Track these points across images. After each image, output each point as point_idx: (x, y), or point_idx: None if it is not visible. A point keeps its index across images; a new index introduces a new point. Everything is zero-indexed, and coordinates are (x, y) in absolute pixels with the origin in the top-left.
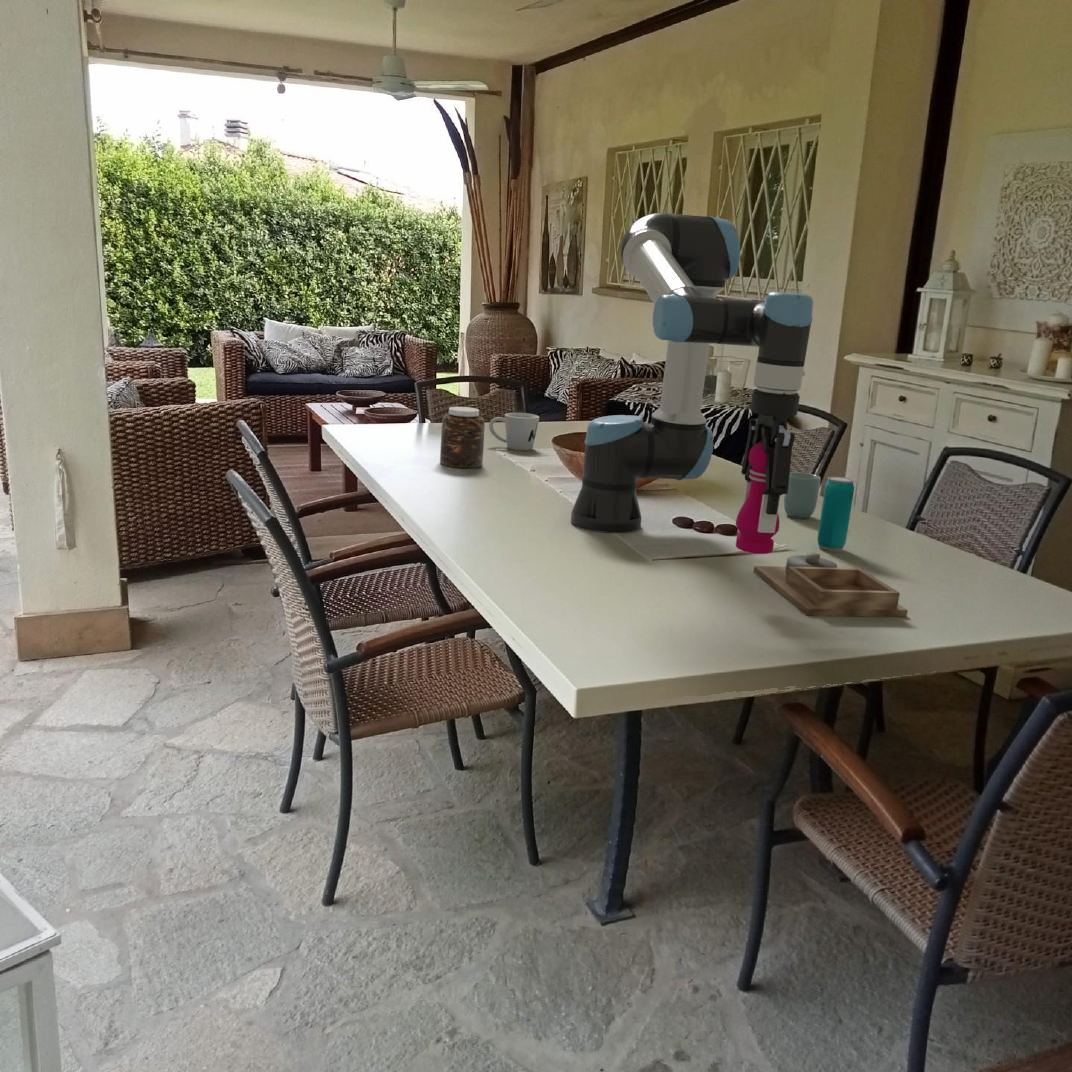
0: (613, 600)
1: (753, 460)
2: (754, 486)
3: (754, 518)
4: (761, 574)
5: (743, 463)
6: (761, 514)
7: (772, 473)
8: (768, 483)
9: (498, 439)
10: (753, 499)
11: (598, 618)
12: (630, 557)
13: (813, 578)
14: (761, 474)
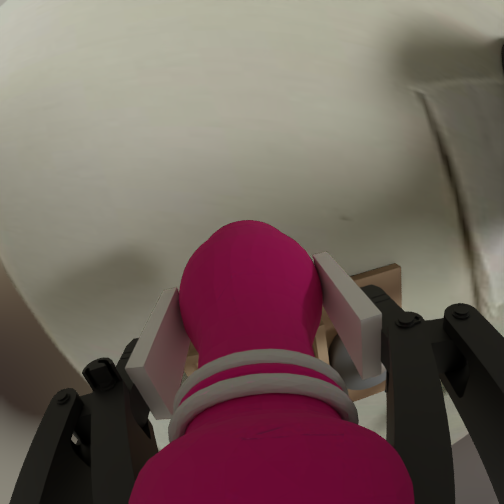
0: (160, 10)
1: (169, 462)
2: (217, 349)
3: (182, 291)
4: (367, 274)
5: (489, 331)
6: (151, 318)
7: (54, 452)
8: (96, 410)
9: None
10: (206, 315)
11: (78, 12)
12: (419, 60)
13: (315, 354)
14: (171, 424)
